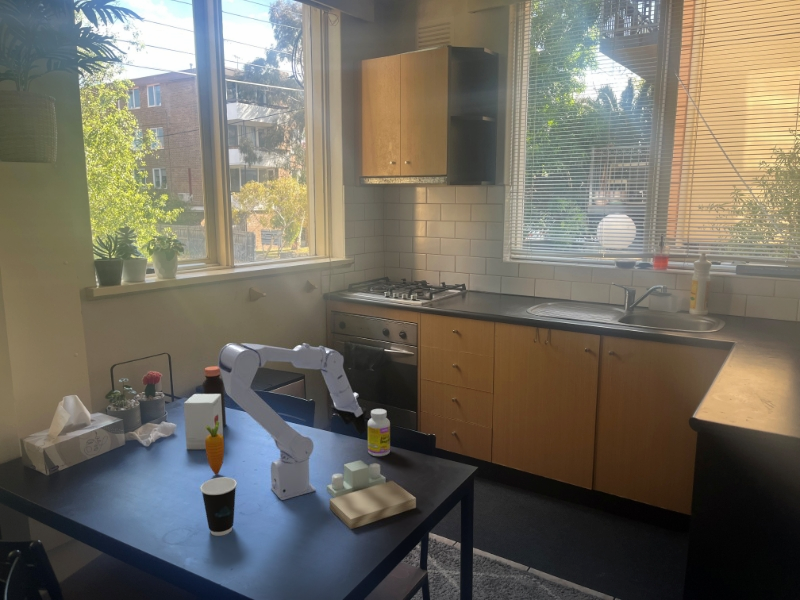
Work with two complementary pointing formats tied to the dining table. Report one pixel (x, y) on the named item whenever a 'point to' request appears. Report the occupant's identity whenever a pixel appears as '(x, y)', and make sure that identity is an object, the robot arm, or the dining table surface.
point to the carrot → (214, 448)
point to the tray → (355, 478)
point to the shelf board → (372, 504)
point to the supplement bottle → (378, 433)
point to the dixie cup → (219, 504)
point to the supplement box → (201, 418)
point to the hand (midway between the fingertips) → (355, 427)
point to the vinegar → (215, 386)
